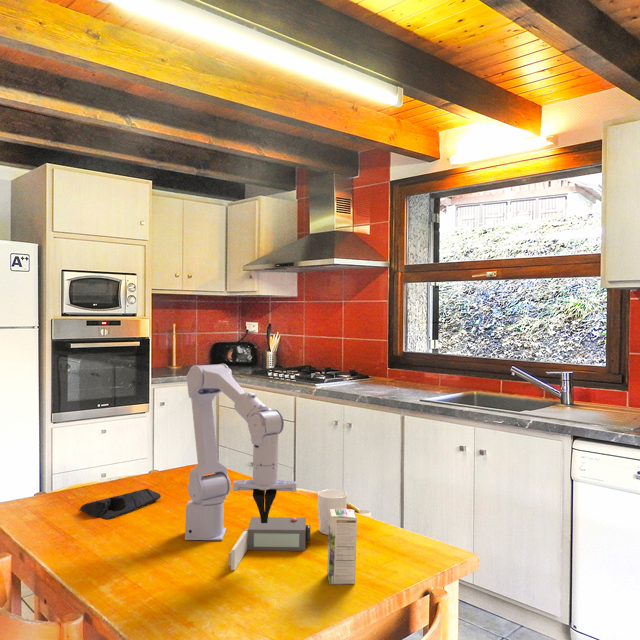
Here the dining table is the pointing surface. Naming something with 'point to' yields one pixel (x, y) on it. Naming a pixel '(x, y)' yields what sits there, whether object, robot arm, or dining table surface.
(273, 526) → the camera housing
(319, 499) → the white cup
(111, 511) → the folded black cloth
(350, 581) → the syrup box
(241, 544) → the side door
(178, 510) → the dining table surface
